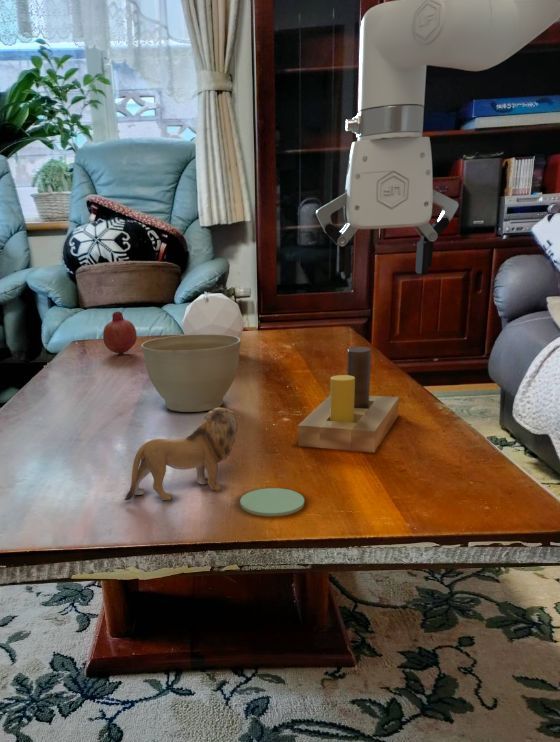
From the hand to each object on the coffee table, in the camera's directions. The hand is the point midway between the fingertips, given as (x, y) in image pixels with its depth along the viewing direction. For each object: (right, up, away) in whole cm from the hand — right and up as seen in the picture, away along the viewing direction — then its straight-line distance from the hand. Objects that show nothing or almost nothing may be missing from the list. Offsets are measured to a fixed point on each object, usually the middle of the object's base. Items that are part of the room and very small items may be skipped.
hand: (383, 276), depth 87 cm
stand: (-2, -19, +10) cm, 22 cm away
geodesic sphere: (-20, +2, +68) cm, 71 cm away
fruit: (-42, +4, +75) cm, 87 cm away
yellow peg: (-4, -20, +7) cm, 22 cm away
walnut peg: (0, -18, +13) cm, 22 cm away
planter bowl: (-24, -14, +27) cm, 39 cm away
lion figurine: (-25, -27, -8) cm, 38 cm away
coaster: (-16, -29, -13) cm, 35 cm away
